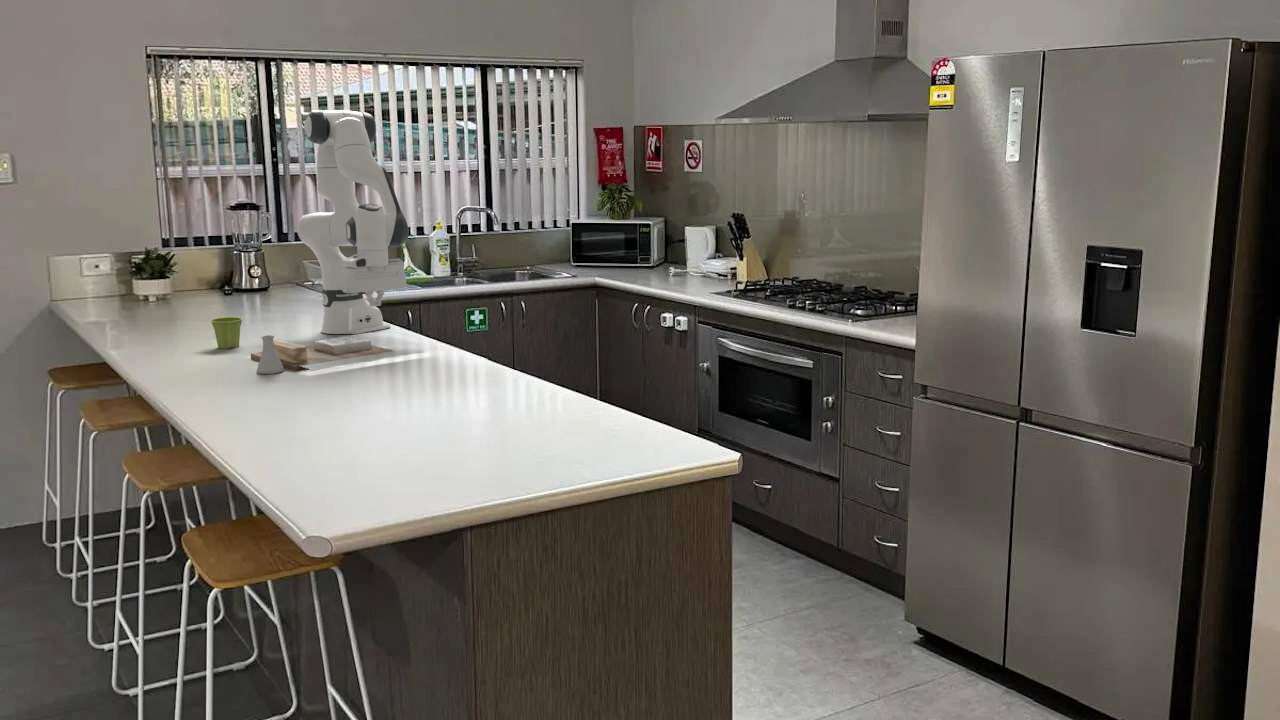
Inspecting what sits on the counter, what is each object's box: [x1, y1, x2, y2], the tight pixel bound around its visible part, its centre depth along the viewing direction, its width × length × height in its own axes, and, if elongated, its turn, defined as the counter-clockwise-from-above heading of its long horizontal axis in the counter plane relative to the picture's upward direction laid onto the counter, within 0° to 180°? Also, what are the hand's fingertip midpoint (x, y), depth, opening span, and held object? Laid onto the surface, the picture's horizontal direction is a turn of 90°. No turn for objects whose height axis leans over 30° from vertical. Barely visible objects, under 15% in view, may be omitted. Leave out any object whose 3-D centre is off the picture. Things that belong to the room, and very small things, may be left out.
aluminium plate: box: [313, 335, 372, 355], centre depth 339 cm, size 12×12×2 cm
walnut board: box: [250, 344, 395, 372], centre depth 335 cm, size 31×28×2 cm
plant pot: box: [209, 316, 243, 350], centre depth 354 cm, size 9×9×9 cm
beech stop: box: [273, 338, 307, 363], centre depth 327 cm, size 4×18×4 cm, turn 43°
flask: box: [255, 334, 286, 375], centre depth 314 cm, size 7×7×10 cm
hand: (375, 306), depth 344 cm, fingers closed
